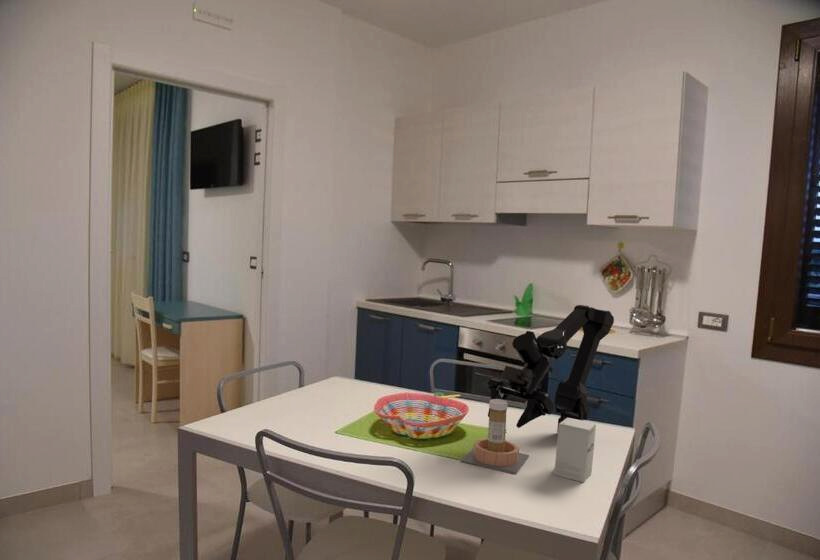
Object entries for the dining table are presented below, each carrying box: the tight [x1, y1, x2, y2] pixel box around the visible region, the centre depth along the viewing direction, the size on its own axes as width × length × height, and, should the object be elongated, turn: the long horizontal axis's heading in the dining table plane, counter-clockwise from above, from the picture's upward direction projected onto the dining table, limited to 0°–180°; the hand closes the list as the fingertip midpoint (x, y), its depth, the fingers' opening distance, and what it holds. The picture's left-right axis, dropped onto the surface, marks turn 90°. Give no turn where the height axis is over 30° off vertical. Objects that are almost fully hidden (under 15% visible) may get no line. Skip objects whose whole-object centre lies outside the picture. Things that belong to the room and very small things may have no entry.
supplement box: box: [553, 418, 597, 483], centre depth 139 cm, size 7×7×13 cm
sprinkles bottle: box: [487, 399, 509, 452], centre depth 146 cm, size 5×5×13 cm
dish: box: [460, 437, 530, 475], centre depth 146 cm, size 14×14×3 cm
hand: (502, 421), depth 147 cm, fingers open, 9 cm apart
